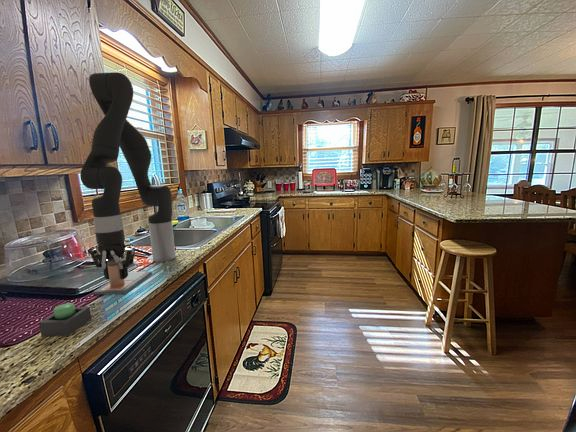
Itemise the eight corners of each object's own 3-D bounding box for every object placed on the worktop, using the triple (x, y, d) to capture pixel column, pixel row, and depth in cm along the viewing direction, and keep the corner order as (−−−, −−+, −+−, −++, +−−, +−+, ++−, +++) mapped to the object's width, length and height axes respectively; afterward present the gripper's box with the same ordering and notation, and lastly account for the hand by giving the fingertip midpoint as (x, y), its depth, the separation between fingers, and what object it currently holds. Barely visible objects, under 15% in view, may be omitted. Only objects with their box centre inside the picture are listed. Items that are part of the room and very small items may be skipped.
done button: (64, 310, 64) (63, 302, 64) (79, 309, 64) (78, 302, 64) (50, 319, 60) (48, 311, 60) (66, 318, 60) (64, 311, 60)
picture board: (126, 274, 95) (125, 271, 95) (151, 273, 95) (151, 271, 95) (93, 294, 80) (93, 291, 79) (124, 294, 80) (124, 290, 79)
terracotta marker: (110, 284, 84) (106, 259, 83) (124, 281, 86) (121, 257, 85) (110, 289, 81) (106, 263, 79) (124, 286, 83) (121, 260, 81)
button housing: (66, 319, 66) (64, 307, 66) (91, 318, 66) (89, 306, 66) (41, 335, 60) (38, 322, 59) (69, 335, 60) (66, 322, 59)
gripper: (138, 226, 84) (144, 273, 87) (96, 226, 84) (103, 274, 87) (123, 231, 76) (130, 283, 79) (77, 232, 76) (86, 283, 80)
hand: (116, 278), depth 83 cm, fingers open, 4 cm apart
